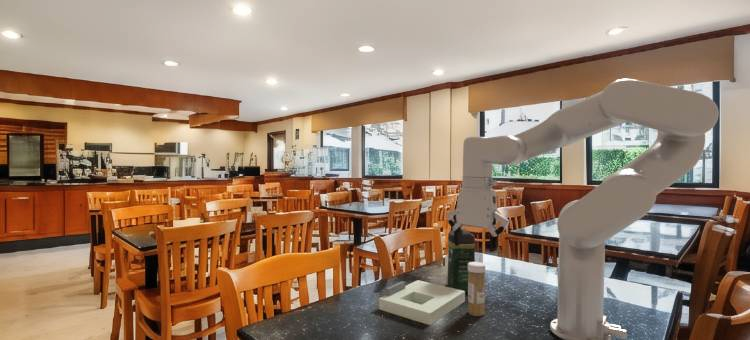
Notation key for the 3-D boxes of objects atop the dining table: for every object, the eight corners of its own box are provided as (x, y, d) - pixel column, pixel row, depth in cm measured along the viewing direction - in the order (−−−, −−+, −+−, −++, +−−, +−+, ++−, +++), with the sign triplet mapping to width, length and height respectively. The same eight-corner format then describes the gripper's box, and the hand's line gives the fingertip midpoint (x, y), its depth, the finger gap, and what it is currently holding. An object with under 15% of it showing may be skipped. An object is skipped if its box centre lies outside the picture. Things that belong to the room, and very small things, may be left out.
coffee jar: (477, 293, 117) (478, 233, 116) (452, 293, 116) (452, 233, 116) (468, 282, 126) (469, 227, 126) (445, 282, 126) (445, 227, 125)
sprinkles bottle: (485, 317, 99) (486, 266, 98) (467, 316, 99) (468, 265, 99) (484, 310, 103) (484, 261, 103) (467, 309, 104) (467, 260, 104)
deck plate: (464, 301, 110) (465, 284, 110) (430, 325, 94) (430, 305, 94) (417, 289, 120) (417, 273, 119) (379, 309, 104) (379, 291, 104)
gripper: (514, 185, 98) (512, 250, 99) (453, 181, 109) (452, 240, 109) (504, 186, 92) (502, 256, 93) (440, 182, 103) (439, 245, 103)
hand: (475, 247), depth 101 cm, fingers open, 9 cm apart
